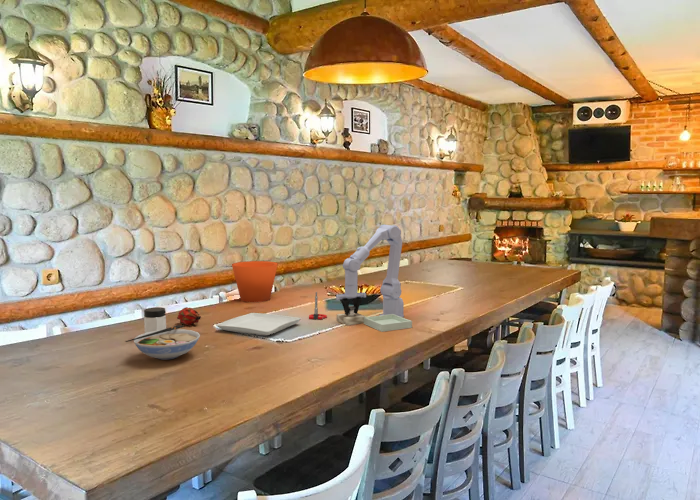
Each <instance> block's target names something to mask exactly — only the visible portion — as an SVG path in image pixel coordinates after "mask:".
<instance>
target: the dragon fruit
mask: <svg viewBox="0 0 700 500" xmlns="http://www.w3.org/2000/svg"><path fill="white" fill-rule="evenodd" d="M201 318H202V317H201V316H200V313H199V312H198V311H197V310H195V309H194V308H192V307H187V306H186V307H183V308H182V309H181V310H180V311H178V313H177V317H176V319H177V320H179V322H180V325H181V326H182V325H186V326H188V327H193V326H194V325H195V324H198V323H199V322H200V320H201Z"/></svg>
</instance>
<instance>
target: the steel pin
mask: <svg viewBox="0 0 700 500" xmlns="http://www.w3.org/2000/svg"><path fill="white" fill-rule="evenodd" d="M355 308H356V307H355V306H354V305H349V313H348V316H349V317H351V316H354V309H355Z"/></svg>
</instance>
